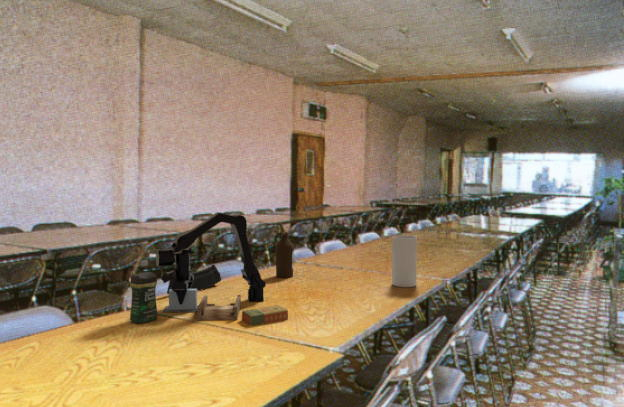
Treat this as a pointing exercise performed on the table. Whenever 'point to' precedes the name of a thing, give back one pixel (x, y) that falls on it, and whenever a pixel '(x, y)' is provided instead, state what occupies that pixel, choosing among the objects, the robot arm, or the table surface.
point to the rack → (218, 317)
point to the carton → (265, 315)
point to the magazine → (203, 278)
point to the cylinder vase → (404, 261)
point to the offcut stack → (218, 310)
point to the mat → (178, 310)
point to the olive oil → (284, 257)
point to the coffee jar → (143, 297)
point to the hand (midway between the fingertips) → (183, 301)
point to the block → (183, 301)
